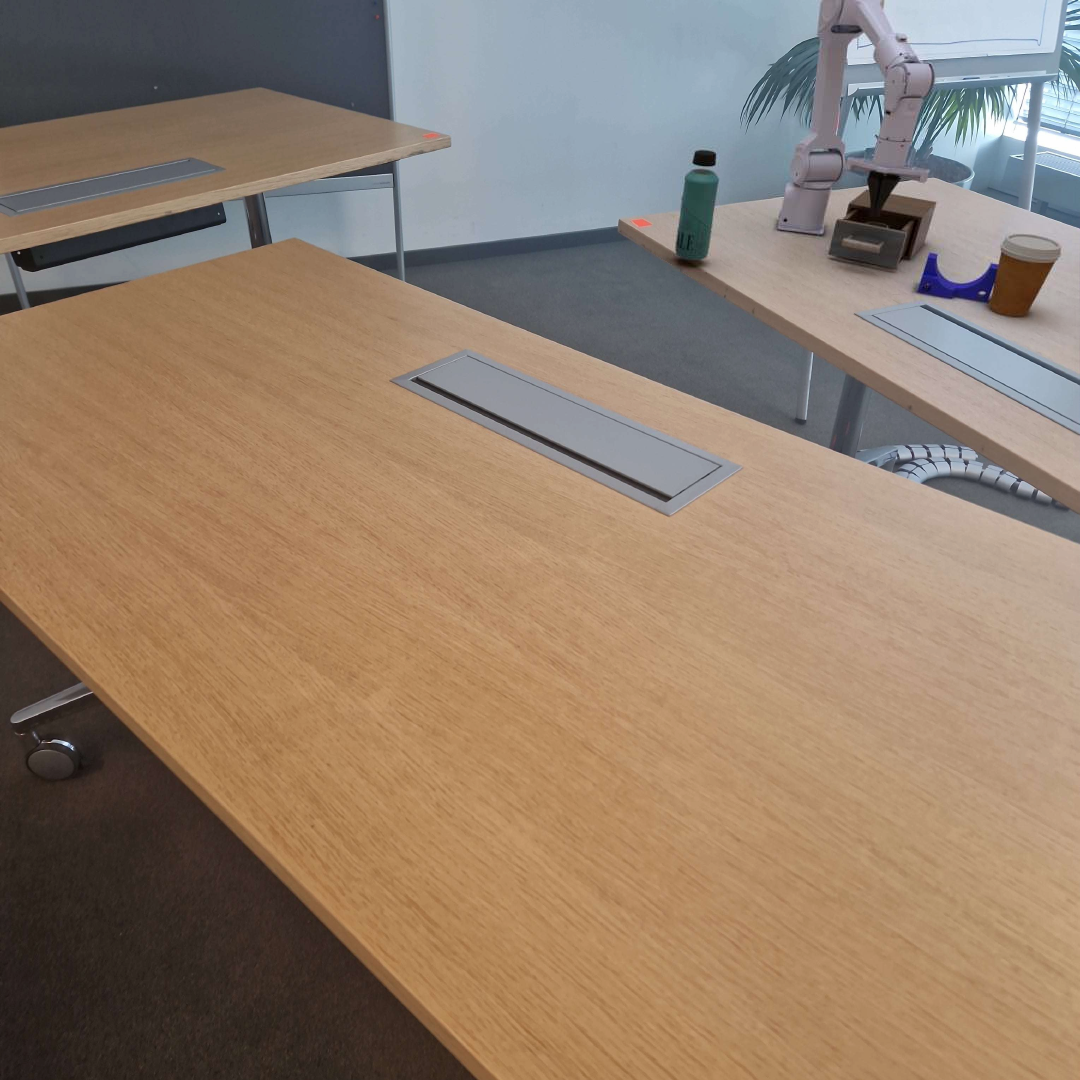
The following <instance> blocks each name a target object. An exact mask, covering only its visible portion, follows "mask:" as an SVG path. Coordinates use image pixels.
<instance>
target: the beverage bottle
mask: <svg viewBox="0 0 1080 1080" xmlns="http://www.w3.org/2000/svg"><path fill="white" fill-rule="evenodd" d="M692 164H693V165H695V166H698V167H703V168H694V169H691V170H690V171H689V172H687V173H686V174H685V175H684V182H683V183H684V184H683V190H682V195H681V197H680V203H681V204H680V211H679V218H678V227H677V230H676V233H677V234H676V238H675V246H674V247H675V255H676V256H678V257H680V258H682V259H685V260H693V261H695V260H696V261H697V260H703V259H704V260H705V259H706V258H707V257H708V255H709V251H710V245H711V236H712V235H711V234H712V229H713V226H714V225H713V223H714V213H715V205H716V199H717V193H718V187H719V182H720V178H719V176H718V175H717V174H716V172H715V171H714V170H711V169H707V168H709V167H711V168H712V167H715V166H716V164H717V152H715V151H713V150H706V149H699V150H695V151H694V154H693V159H692ZM704 167H705V168H704Z"/></svg>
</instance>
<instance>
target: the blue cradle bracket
mask: <svg viewBox="0 0 1080 1080" xmlns="http://www.w3.org/2000/svg"><path fill="white" fill-rule="evenodd" d="M938 256H939V254H938V253H934V252H929V253H928V256H927V259H926V262H925V266H924V269H923V271H922V275H921V278H920V281H919V285H918V288H917V290H916V292H917V293H919V294H923V295H929V296H935V297H940V298H946V299H951V300H952V299H953V297H956V298H960V299H967V300H971V301H977V302H982V303H988V302H989V300H990V298H991V297H990V296H991V295H992V292H993V287H994V282H995V278H996V274H997V269H998V264H999V263H993V262H990V264H989V266H988V268H987V269H986V271H985V272H984V273H983V274H982V275H981V276H980V277H978V278H976V279H975V280H974V279H973V280H972V281H969V282H964V283H963V282H954V281H951V280H950V279H947V278H946V277H945V276H944V275H943V274H942V273H941V271H940V270H939V267H938ZM982 292H983V293H984V294H981V293H982Z"/></svg>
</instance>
